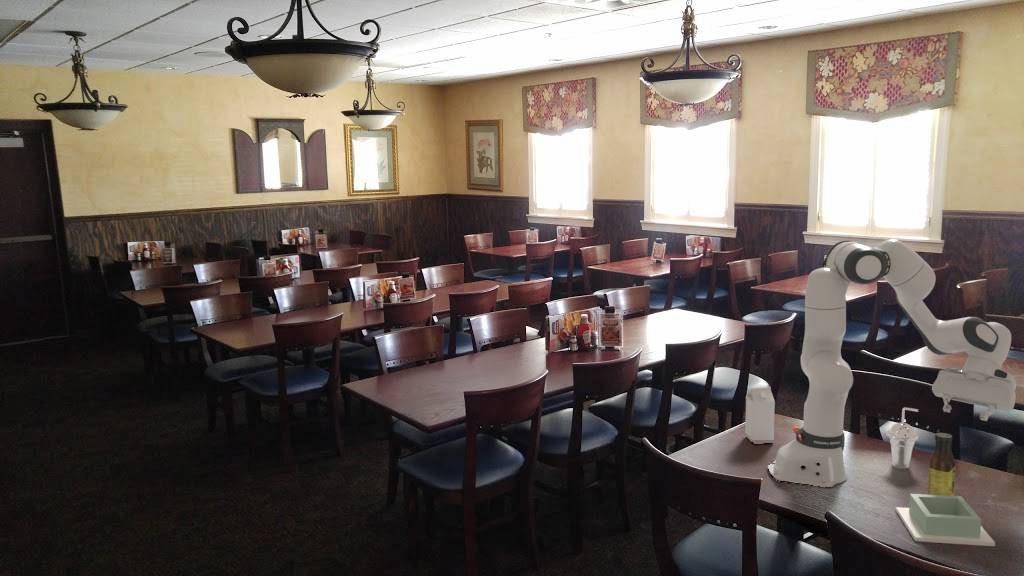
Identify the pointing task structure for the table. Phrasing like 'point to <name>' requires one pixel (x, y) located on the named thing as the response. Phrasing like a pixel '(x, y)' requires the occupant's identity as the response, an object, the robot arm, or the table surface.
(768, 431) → the milk carton
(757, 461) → the table surface
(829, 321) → the robot arm
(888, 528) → the table surface
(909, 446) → the cup with straw
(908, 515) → the caddy
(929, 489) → the sauce bottle
